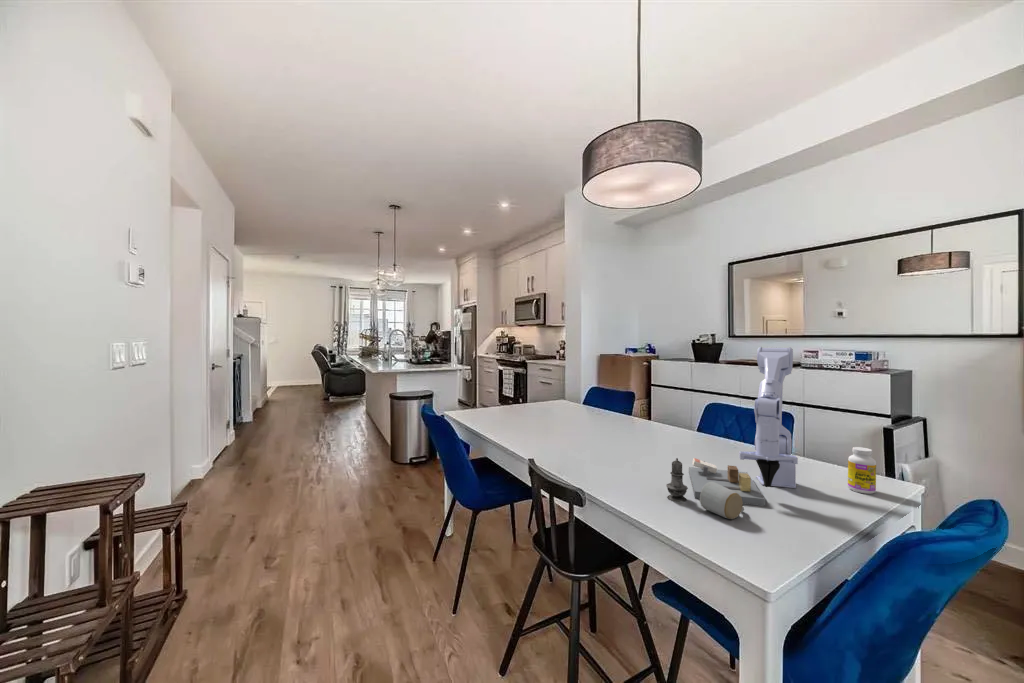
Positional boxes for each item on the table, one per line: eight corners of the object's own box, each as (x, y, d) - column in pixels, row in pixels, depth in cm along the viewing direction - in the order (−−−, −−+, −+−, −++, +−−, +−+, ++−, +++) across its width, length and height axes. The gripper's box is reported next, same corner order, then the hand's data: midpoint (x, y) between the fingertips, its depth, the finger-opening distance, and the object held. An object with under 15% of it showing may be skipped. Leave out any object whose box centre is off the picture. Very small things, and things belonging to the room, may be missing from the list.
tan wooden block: (747, 487, 125) (747, 473, 125) (750, 491, 121) (750, 478, 121) (738, 486, 126) (738, 472, 126) (741, 490, 122) (741, 477, 122)
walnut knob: (735, 478, 133) (736, 466, 132) (738, 482, 129) (738, 469, 129) (727, 477, 133) (727, 465, 133) (729, 482, 130) (729, 469, 129)
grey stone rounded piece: (689, 503, 119) (689, 461, 119) (667, 501, 120) (668, 460, 120) (685, 495, 125) (685, 455, 125) (664, 494, 126) (664, 454, 126)
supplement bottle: (851, 492, 127) (851, 450, 127) (844, 485, 133) (845, 445, 133) (879, 496, 124) (880, 452, 124) (871, 488, 130) (871, 447, 130)
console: (747, 478, 140) (747, 464, 139) (764, 506, 117) (765, 489, 117) (688, 472, 145) (688, 458, 145) (694, 498, 123) (694, 481, 123)
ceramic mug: (726, 523, 106) (727, 493, 106) (698, 511, 113) (699, 483, 113) (752, 516, 111) (753, 487, 111) (724, 504, 118) (724, 477, 118)
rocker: (713, 469, 141) (715, 464, 141) (715, 473, 136) (717, 468, 136) (692, 462, 143) (693, 457, 143) (693, 466, 138) (694, 461, 138)
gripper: (742, 440, 120) (742, 487, 120) (801, 444, 115) (801, 493, 116) (737, 435, 127) (737, 479, 127) (793, 438, 122) (793, 485, 122)
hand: (767, 485), depth 122 cm, fingers closed
